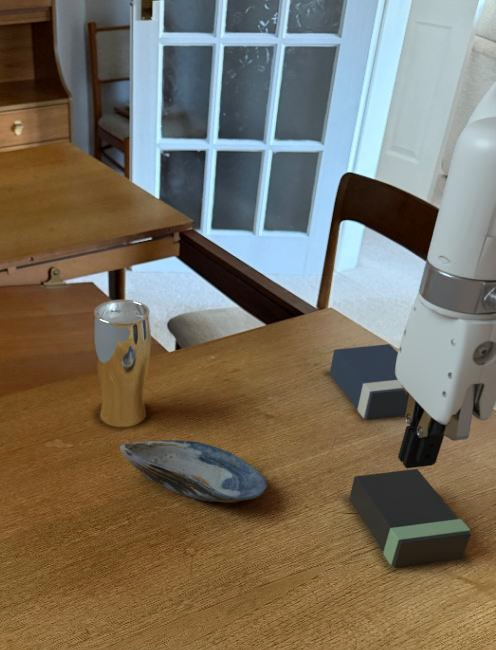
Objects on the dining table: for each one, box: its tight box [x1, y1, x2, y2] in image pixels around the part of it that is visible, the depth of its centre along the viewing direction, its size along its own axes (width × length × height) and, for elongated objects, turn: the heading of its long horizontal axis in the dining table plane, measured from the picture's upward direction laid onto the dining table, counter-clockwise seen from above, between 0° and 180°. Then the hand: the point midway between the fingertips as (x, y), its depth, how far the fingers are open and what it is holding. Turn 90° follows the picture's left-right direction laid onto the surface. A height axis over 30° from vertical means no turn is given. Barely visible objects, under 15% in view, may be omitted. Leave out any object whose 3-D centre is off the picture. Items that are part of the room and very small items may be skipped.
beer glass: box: [92, 299, 152, 428], centre depth 92 cm, size 7×7×15 cm
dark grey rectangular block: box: [348, 468, 472, 569], centre depth 77 cm, size 8×4×11 cm
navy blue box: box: [329, 343, 408, 421], centre depth 98 cm, size 8×5×12 cm
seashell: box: [119, 439, 268, 503], centre depth 83 cm, size 15×12×5 cm
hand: (416, 461), depth 74 cm, fingers closed
